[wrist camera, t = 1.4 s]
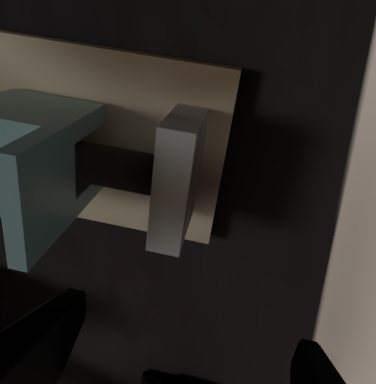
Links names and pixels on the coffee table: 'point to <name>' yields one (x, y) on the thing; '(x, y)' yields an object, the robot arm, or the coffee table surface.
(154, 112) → the cord board
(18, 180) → the marker sleeve
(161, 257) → the coffee table surface
